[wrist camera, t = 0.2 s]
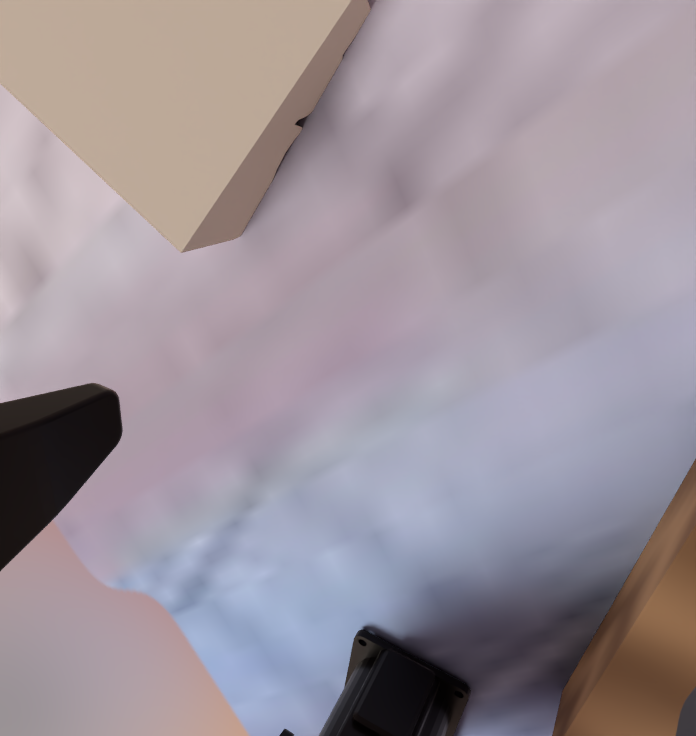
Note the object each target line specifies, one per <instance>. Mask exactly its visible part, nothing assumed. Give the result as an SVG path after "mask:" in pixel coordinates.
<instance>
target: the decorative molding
mask: <svg viewBox="0 0 696 736" xmlns="http://www.w3.org/2000/svg"><path fill="white" fill-rule="evenodd" d="M370 10H371V8H370V6H369V3H368V0H0V84H1V85H2V86H3V87H4V88H6V89H7V90H8V91H9V92H10V93H11V94H12V95H13V96H14V97H15V98H16V99H17V100H18V101H19V102H21V103H22V104H23V105H24V106H25V107H26V108H27V109H28V110H29V111H30V112H31V113H32V114H33V115H34V116H35V117H37V118H38V119H39V120H40V121H41V122H42V123H43V124H44V125H45V126H46V127H47V128H48V129H49V130H50V131H51V132H53V133H54V134H55V135H56V136H57V137H58V138H59V139H60V140H61V141H62V142H63V143H64V144H65V145H66V146H67V147H69V148H70V149H71V150H72V151H73V152H74V153H75V154H76V155H77V156H78V157H79V158H80V159H81V160H82V161H84V162H85V163H86V164H87V165H88V166H89V167H90V168H91V169H92V170H93V171H94V172H95V173H96V174H97V175H98V176H100V177H101V178H102V179H103V180H104V181H105V182H106V183H107V184H108V185H109V186H110V187H111V188H112V189H113V190H114V191H116V192H117V193H118V194H119V195H120V196H121V197H122V198H123V199H124V200H125V201H126V202H127V203H128V204H129V205H131V206H132V207H133V208H134V209H135V210H136V211H137V212H138V213H139V214H140V215H141V216H142V217H143V218H144V219H145V220H147V221H148V222H149V223H150V224H151V225H152V226H153V227H154V228H155V229H156V230H157V231H158V232H159V233H160V234H161V235H163V236H164V237H165V238H166V239H167V240H168V241H169V242H170V243H171V244H172V245H173V246H174V247H175V248H176V249H178V250H179V251H180V252H181V253H183V252H186V251H190V250H194V249H198V248H202V247H206V246H210V245H214V244H218V243H222V242H226V241H230V240H233V239H236V238H238V237H240V236H241V234H242V233H243V231H244V229H245V227H246V226H247V224H248V222H249V220H250V219H251V217H252V215H253V213H254V212H255V210H256V208H257V207H258V205H259V203H260V201H261V200H262V198H263V196H264V194H265V193H266V191H267V189H268V187H269V186H270V184H271V182H272V181H273V179H274V176H275V173H276V171H277V168H278V166H279V164H280V163H281V161H282V159H283V157H284V155H285V153H286V151H287V150H288V148H289V147H290V145H291V144H292V143H293V141H294V140H295V139H296V137H297V136H298V135H299V134H300V132H301V130H302V127H300V126H297V125H295V124H296V122H297V121H298V120H299V119H301V118H304V117H306V116H308V115H309V114H310V113H312V111H313V109H314V108H315V106H316V104H317V102H318V101H319V99H320V97H321V96H322V94H323V92H324V90H325V89H326V87H327V85H328V83H329V82H330V80H331V78H332V76H333V75H334V73H335V71H336V69H337V68H338V66H339V64H340V63H341V61H342V59H343V56H342V55H343V54H344V52H345V51H346V49H347V48H348V47H349V45H350V44H351V42H352V41H353V39H354V38H355V36H356V35H357V33H358V31H359V30H360V28H361V26H362V24H363V23H364V21H365V19H366V17H367V16H368V14H369V12H370Z"/></svg>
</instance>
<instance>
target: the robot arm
mask: <svg viewBox="0 0 696 736" xmlns="http://www.w3.org/2000/svg"><path fill="white" fill-rule="evenodd" d="M121 436H122V420H121V411H120V402H119V397H118V395H117V393H116V392H115V391H113V390H111V389H109V388H107V387H104V386H102V385H100V384H96V383H90V384H85V385H81V386H76V387H72V388H67V389H63V390H58V391H54V392H49V393H45V394H40V395H35V396H31V397H26V398H22V399H17V400H13V401H8V402H4V403H0V571H1V570H2V569H3V568H4V567H5V566H6V565H7V564H8V563H9V562H10V561H11V560H12V559H13V558H14V557H15V556H16V555H17V554H18V553H19V552H20V551H21V550H22V549H23V548H24V547H25V546H26V545H27V544H29V543H30V541H32V540H33V539H34V538H35V537H36V536H37V535H38V534H39V533H40V532H41V531H42V530H43V529H44V528H45V527H46V526H47V525H48V524H49V523H50V522H51V521H52V520H53V519H54V518H55V517H56V516H57V515H58V514H59V512H60V511H61V510H62V509H63V508H64V507H65V506H66V505H67V504H68V502H69V501H70V500H71V499H72V498H73V496H74V495H75V494H76V493H77V492H78V491H79V489H80V488H81V487H82V486H83V485H84V483H85V482H86V481H87V480H88V479H89V478H90V476H91V475H92V474H93V473H94V472H95V470H96V469H97V468H98V467H99V466H100V465H101V463H102V462H103V461H104V460H105V459H106V457H107V456H108V455H109V454H110V453H111V452H112V450H113V449H114V448H115V447H116V445H117V444H118V443H119V441H120V439H121ZM470 693H471V690H470V688H469V687H468V686H467V685H466V684H465V683H463V682H461V681H460V680H458V679H456V678H454V677H452V676H450V675H448V674H446V673H444V672H443V671H441V670H439V669H437V668H435V667H433V666H431V665H429V664H427V663H425V662H424V661H422V660H420V659H418V658H416V657H414V656H412V655H410V654H408V653H407V652H405V651H403V650H401V649H399V648H397V647H395V646H393V645H391V644H389V643H388V642H386V641H384V640H382V639H380V638H378V637H376V636H374V635H372V634H370V633H369V632H367V631H364V630H359V631H358V633H357V634H356V636H355V638H354V642H353V647H352V652H351V657H350V662H349V667H348V672H347V677H346V682H345V687H344V690H343V692H342V694H341V695H340V697H339V699H338V701H337V703H336V705H335V706H334V708H333V710H332V712H331V714H330V716H329V718H328V719H327V721H326V723H325V725H324V727H323V729H322V731H321V732H320V734H319V736H453V735H454V733H455V730H456V728H457V725H458V723H459V720H460V718H461V716H462V713H463V711H464V708H465V706H466V703H467V701H468V698H469V696H470ZM280 736H294V734H293V733H291V732H290V731H288V730H287V729H284V730H283V732H282V733H281V734H280ZM676 736H696V687H695V688H694V689H693V691H692V692H691V693H690V695H689V696H688V697H687V699H686V700H685V702H684V704H683V707H682V709H681V712H680V716H679V720H678V726H677V731H676Z"/></svg>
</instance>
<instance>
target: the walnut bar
mask: <svg viewBox="0 0 696 736" xmlns="http://www.w3.org/2000/svg"><path fill="white" fill-rule="evenodd" d="M695 687H696V459H695V461H694V463H693V465H692V466H691V468H690V470H689V471H688V473H687V475H686V477H685V478H684V480H683V482H682V484H681V485H680V487H679V489H678V491H677V492H676V494H675V496H674V498H673V499H672V501H671V503H670V505H669V506H668V508H667V510H666V512H665V513H664V515H663V517H662V519H661V520H660V522H659V524H658V526H657V527H656V529H655V531H654V532H653V534H652V536H651V538H650V539H649V541H648V543H647V545H646V546H645V548H644V550H643V552H642V553H641V555H640V557H639V559H638V560H637V562H636V564H635V566H634V567H633V569H632V571H631V573H630V574H629V576H628V578H627V580H626V581H625V583H624V585H623V587H622V588H621V590H620V592H619V594H618V595H617V597H616V599H615V600H614V602H613V604H612V606H611V607H610V609H609V611H608V613H607V614H606V616H605V618H604V620H603V621H602V623H601V625H600V627H599V628H598V630H597V632H596V634H595V635H594V637H593V639H592V641H591V642H590V644H589V646H588V648H587V649H586V651H585V653H584V655H583V656H582V658H581V660H580V661H579V663H578V665H577V667H576V668H575V670H574V672H573V674H572V675H571V677H570V679H569V681H568V682H567V684H566V686H565V688H564V689H563V691H562V696H561V700H560V704H559V709H558V713H557V717H556V722H555V726H554V731H553V735H552V736H676V731H677V726H678V720H679V716H680V712H681V709H682V707H683V704H684V702H685V700H686V699H687V697H688V696H689V695H690V693H691V692H692V691H693V689H694V688H695Z"/></svg>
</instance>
